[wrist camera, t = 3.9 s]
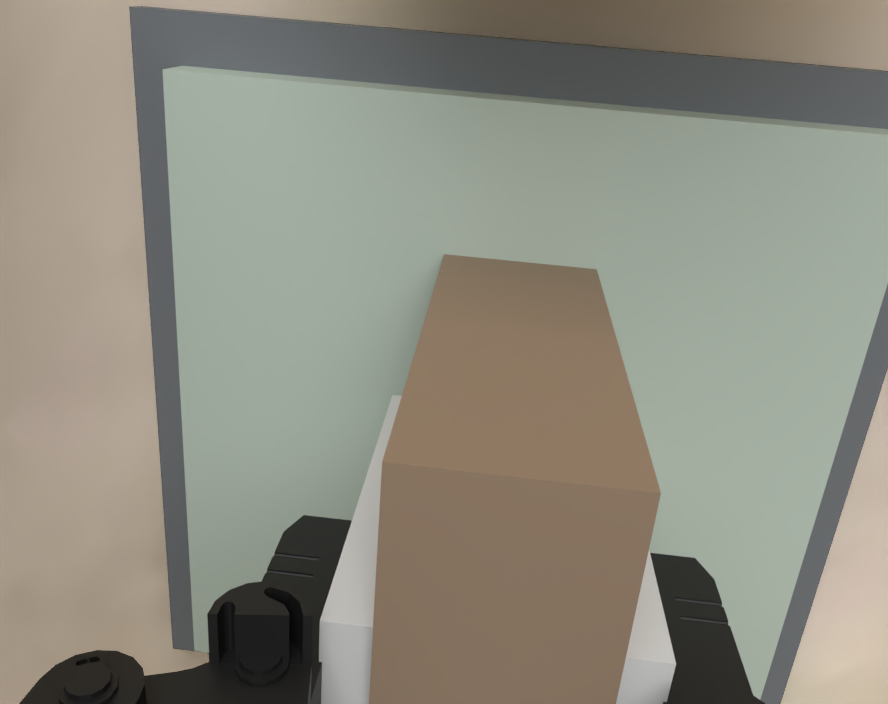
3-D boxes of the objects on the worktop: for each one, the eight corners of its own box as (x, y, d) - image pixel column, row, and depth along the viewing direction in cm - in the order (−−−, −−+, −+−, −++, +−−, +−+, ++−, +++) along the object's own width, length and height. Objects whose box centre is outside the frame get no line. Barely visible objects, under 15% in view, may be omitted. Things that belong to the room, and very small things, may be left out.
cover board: (208, 623, 22) (18, 1002, 14) (182, 65, 16) (-165, 132, 8) (743, 688, 21) (887, 1129, 13) (907, 131, 16) (1343, 276, 7)
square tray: (181, 633, 23) (172, 648, 22) (142, 6, 16) (129, 6, 16) (767, 704, 22) (774, 722, 22) (963, 77, 16) (979, 80, 15)
